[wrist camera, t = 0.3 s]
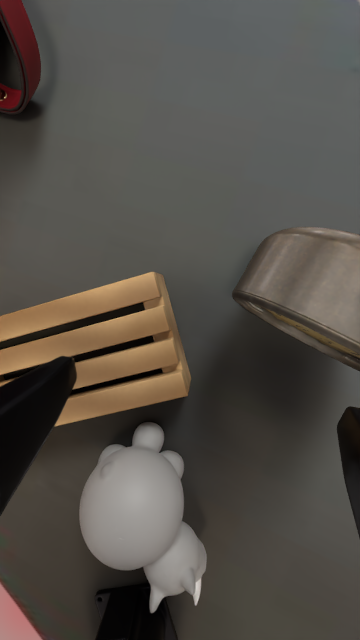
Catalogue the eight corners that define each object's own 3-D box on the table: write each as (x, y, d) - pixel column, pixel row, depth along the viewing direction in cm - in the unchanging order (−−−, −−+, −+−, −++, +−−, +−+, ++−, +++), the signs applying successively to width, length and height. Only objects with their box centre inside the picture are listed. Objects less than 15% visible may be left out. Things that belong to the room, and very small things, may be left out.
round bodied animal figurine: (164, 553, 25) (143, 684, 17) (93, 444, 25) (34, 523, 16) (232, 520, 24) (246, 641, 16) (159, 406, 24) (133, 468, 15)
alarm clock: (222, 297, 22) (258, 313, 6) (257, 237, 22) (397, 82, 6) (342, 365, 22) (707, 563, 6) (382, 306, 21) (921, 349, 5)
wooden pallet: (191, 378, 23) (188, 396, 19) (3, 422, 26) (-34, 446, 22) (162, 274, 23) (153, 271, 19) (-28, 329, 25) (-72, 336, 21)
